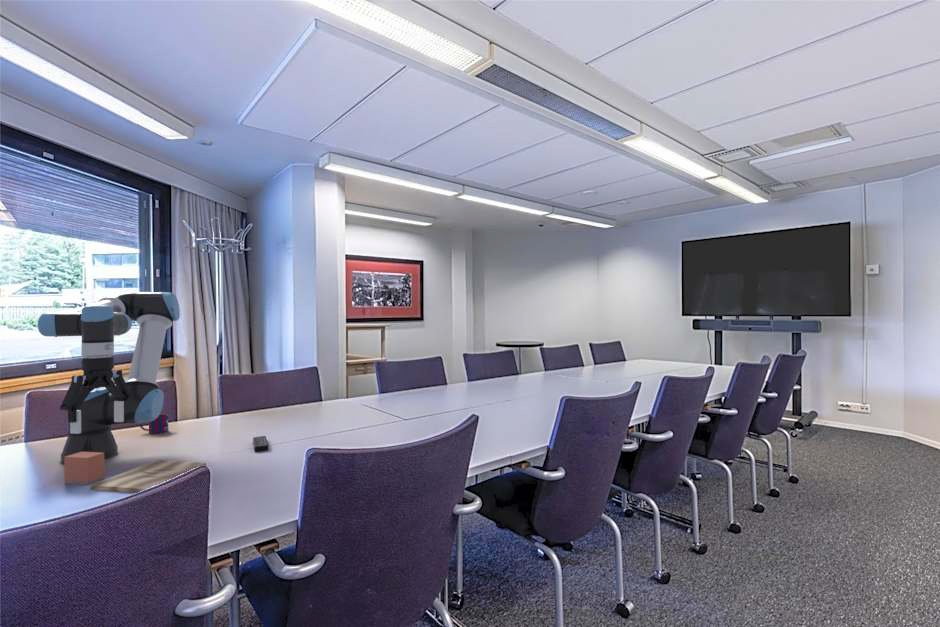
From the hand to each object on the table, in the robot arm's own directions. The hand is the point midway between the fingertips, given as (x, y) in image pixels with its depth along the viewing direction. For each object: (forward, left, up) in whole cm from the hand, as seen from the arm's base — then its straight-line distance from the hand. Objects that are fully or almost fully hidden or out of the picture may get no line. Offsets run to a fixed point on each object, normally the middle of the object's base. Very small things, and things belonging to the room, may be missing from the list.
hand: (98, 427), depth 134 cm
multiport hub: (+28, +37, -16) cm, 49 cm away
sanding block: (-2, -2, -16) cm, 16 cm away
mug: (-29, +49, -16) cm, 59 cm away
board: (+15, +4, -16) cm, 22 cm away
